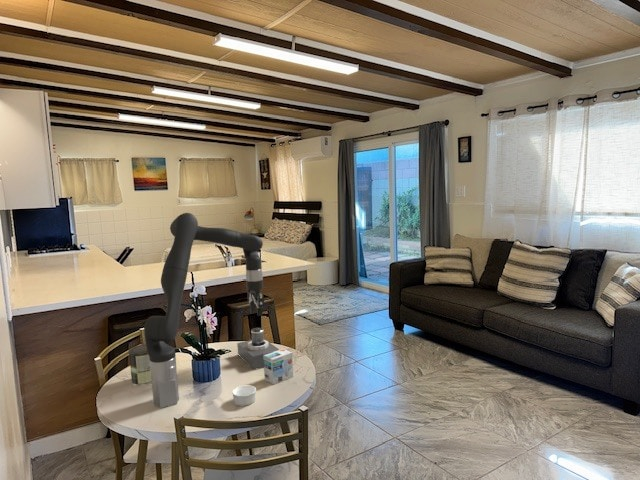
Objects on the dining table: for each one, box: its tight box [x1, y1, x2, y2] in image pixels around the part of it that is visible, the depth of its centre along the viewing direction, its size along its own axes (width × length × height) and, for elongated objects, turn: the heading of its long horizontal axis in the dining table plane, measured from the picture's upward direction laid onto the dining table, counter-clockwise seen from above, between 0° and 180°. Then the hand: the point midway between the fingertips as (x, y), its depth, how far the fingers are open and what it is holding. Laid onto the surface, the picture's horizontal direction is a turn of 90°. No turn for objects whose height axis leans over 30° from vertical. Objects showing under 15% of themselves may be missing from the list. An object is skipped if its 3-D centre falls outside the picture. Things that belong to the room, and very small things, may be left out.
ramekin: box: [231, 384, 257, 407], centre depth 163 cm, size 9×9×4 cm
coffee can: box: [128, 343, 152, 387], centre depth 182 cm, size 10×10×14 cm
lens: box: [250, 327, 265, 346], centre depth 201 cm, size 6×6×8 cm
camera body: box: [236, 338, 280, 370], centre depth 202 cm, size 20×13×8 cm, turn 31°
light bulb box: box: [263, 348, 294, 385], centre depth 180 cm, size 11×7×11 cm, turn 131°
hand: (256, 313), depth 199 cm, fingers open, 8 cm apart
